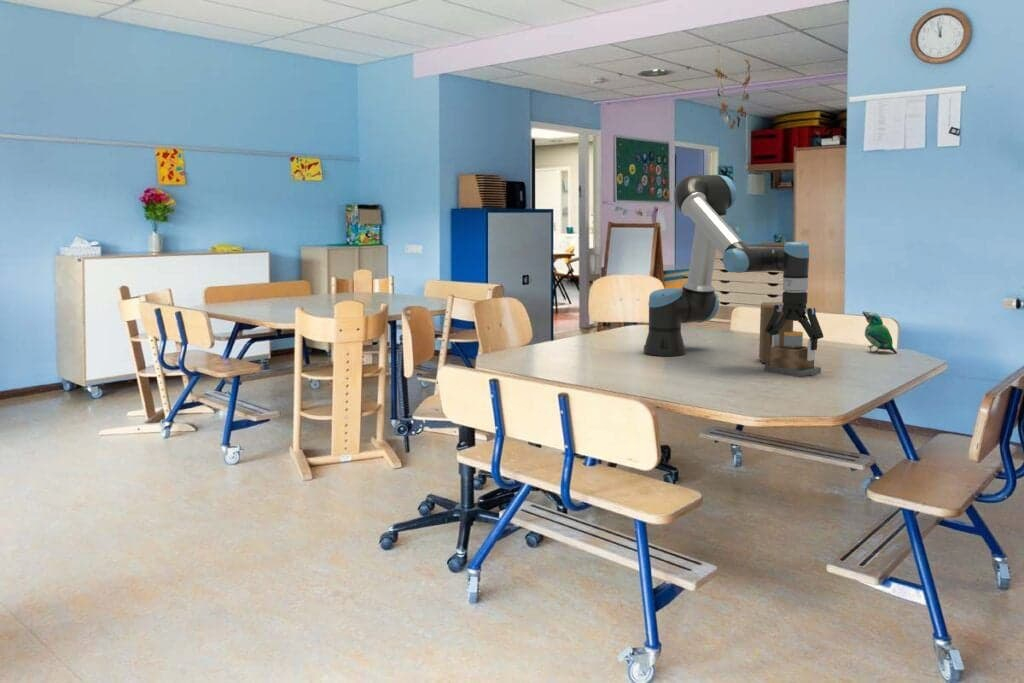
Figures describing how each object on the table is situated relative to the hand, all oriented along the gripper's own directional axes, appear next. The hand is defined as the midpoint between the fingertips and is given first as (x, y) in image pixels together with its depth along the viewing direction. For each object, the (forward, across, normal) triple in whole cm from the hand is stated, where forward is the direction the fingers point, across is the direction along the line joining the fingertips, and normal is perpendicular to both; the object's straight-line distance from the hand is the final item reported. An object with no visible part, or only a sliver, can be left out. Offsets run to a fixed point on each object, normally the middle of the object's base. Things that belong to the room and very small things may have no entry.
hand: (792, 357), depth 271 cm
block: (+5, -16, +12) cm, 21 cm away
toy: (+5, -4, +55) cm, 55 cm away
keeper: (+5, 0, 0) cm, 5 cm away
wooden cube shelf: (+3, 0, 0) cm, 3 cm away
